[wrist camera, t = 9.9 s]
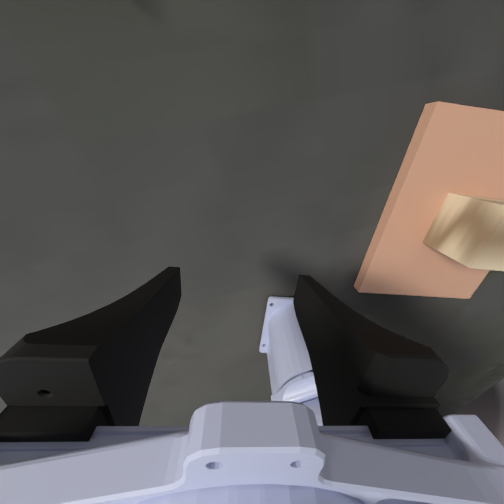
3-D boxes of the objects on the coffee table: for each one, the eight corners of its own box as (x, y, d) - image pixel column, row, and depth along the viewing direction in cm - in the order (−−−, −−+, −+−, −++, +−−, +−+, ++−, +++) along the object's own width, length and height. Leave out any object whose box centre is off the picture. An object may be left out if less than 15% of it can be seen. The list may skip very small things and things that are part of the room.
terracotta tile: (459, 292, 26) (469, 298, 25) (353, 285, 25) (358, 292, 24) (574, 126, 18) (594, 125, 17) (425, 104, 17) (437, 101, 16)
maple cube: (465, 246, 22) (523, 272, 17) (421, 242, 21) (469, 268, 17) (496, 198, 20) (571, 214, 15) (448, 192, 19) (511, 207, 15)
